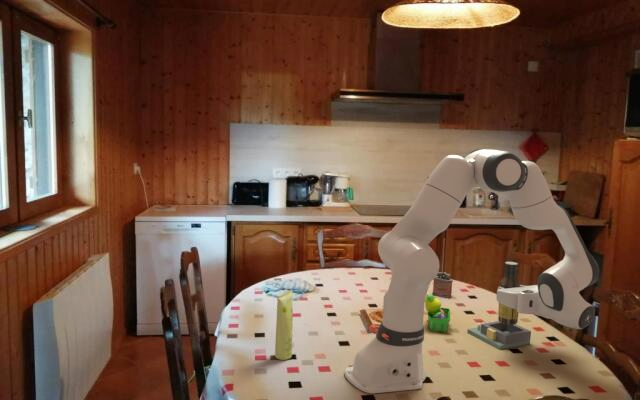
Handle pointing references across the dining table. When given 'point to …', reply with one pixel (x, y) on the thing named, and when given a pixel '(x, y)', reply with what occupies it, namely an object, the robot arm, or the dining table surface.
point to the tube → (284, 327)
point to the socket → (495, 333)
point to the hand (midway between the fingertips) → (507, 287)
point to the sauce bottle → (509, 281)
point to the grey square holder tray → (495, 343)
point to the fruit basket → (437, 314)
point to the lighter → (442, 285)
